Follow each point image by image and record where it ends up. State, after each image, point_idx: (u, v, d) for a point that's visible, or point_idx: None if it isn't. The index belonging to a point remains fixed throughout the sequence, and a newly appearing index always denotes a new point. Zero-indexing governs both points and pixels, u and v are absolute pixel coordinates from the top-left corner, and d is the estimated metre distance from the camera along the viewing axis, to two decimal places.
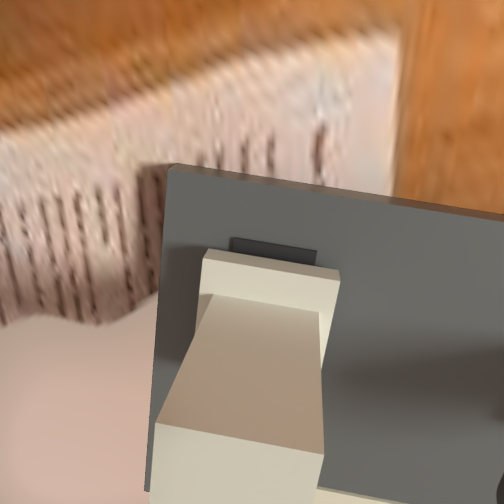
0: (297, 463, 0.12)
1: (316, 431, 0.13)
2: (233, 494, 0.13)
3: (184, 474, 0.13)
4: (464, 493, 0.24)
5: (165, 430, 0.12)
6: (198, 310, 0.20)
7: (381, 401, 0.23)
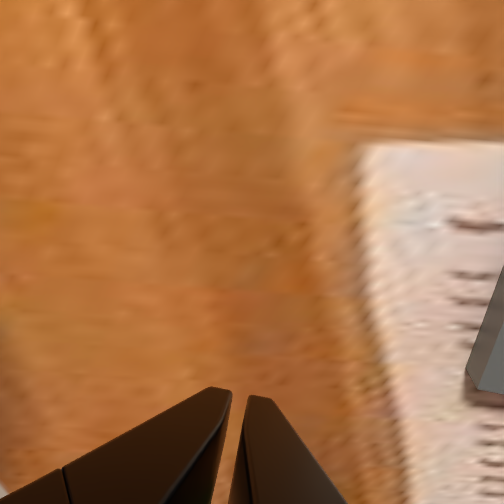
0: None
1: None
2: None
3: None
4: None
5: None
6: None
7: None
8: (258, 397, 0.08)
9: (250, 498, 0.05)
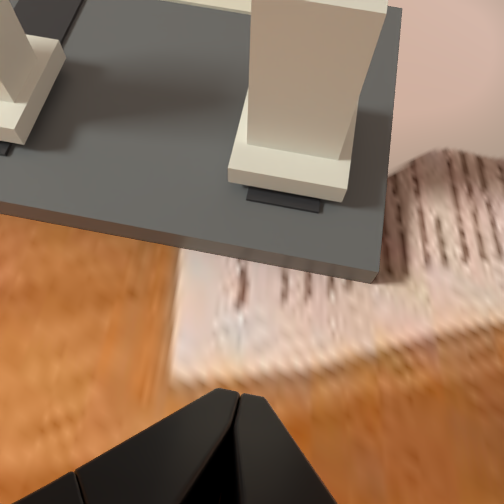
0: None
1: (256, 14, 0.16)
2: None
3: None
4: (127, 10, 0.29)
5: (378, 8, 0.15)
6: (351, 147, 0.23)
7: (193, 80, 0.27)
8: (250, 396, 0.08)
9: (238, 496, 0.05)
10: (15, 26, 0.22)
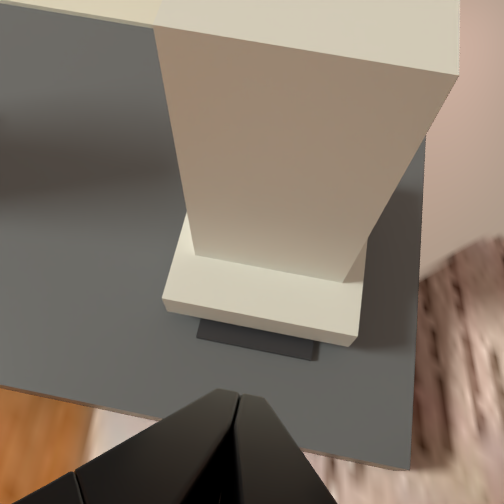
0: (201, 11, 0.07)
1: (172, 70, 0.08)
2: None
3: None
4: (40, 33, 0.20)
5: (438, 62, 0.07)
6: (363, 259, 0.14)
7: (127, 138, 0.18)
8: (250, 396, 0.08)
9: (237, 496, 0.05)
10: None
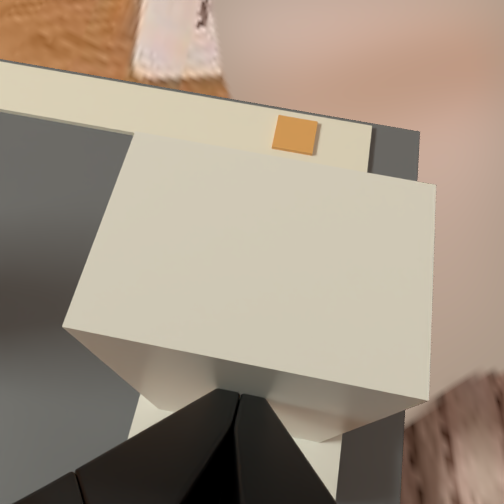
0: (122, 303, 0.06)
1: (95, 346, 0.06)
2: (262, 225, 0.06)
3: (361, 267, 0.06)
4: None
5: (405, 378, 0.06)
6: None
7: None
8: (250, 396, 0.08)
9: (237, 496, 0.05)
10: None
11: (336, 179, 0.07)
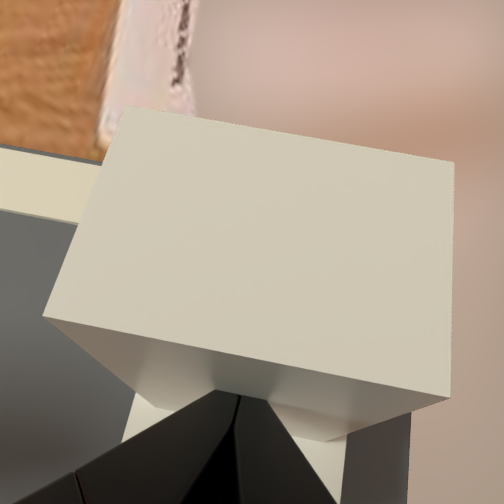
0: (109, 289, 0.05)
1: (81, 338, 0.06)
2: (264, 205, 0.06)
3: (373, 251, 0.06)
4: None
5: (423, 373, 0.05)
6: None
7: (31, 399, 0.14)
8: None
9: (237, 496, 0.05)
10: None
11: (345, 156, 0.06)
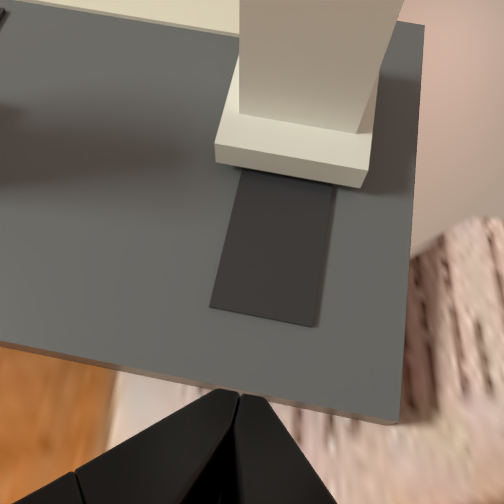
0: None
1: None
2: None
3: None
4: (61, 30, 0.22)
5: None
6: (372, 117, 0.18)
7: (144, 127, 0.20)
8: (251, 396, 0.08)
9: (238, 495, 0.05)
10: None
11: None
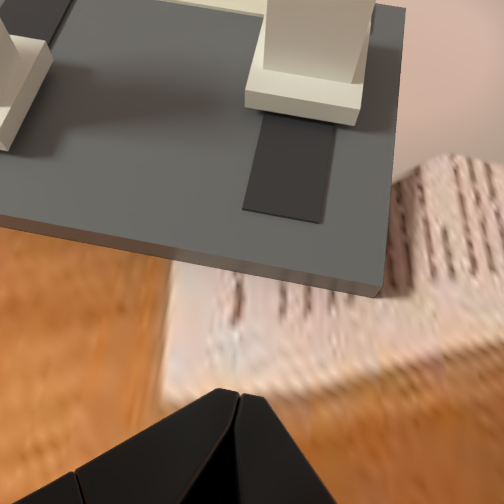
0: None
1: None
2: None
3: None
4: (119, 10, 0.28)
5: None
6: (363, 72, 0.24)
7: (187, 83, 0.25)
8: (250, 396, 0.08)
9: (237, 496, 0.05)
10: None
11: None
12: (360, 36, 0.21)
